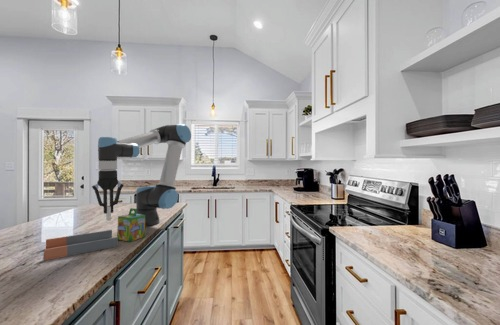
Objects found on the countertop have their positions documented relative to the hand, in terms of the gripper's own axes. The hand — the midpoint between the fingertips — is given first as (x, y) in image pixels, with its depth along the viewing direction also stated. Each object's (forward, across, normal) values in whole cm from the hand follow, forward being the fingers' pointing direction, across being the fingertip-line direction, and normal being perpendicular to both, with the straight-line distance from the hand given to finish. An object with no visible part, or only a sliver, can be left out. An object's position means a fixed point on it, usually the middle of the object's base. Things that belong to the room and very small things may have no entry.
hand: (108, 219), depth 111 cm
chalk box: (+11, -10, 0) cm, 15 cm away
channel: (+11, +10, 0) cm, 15 cm away
